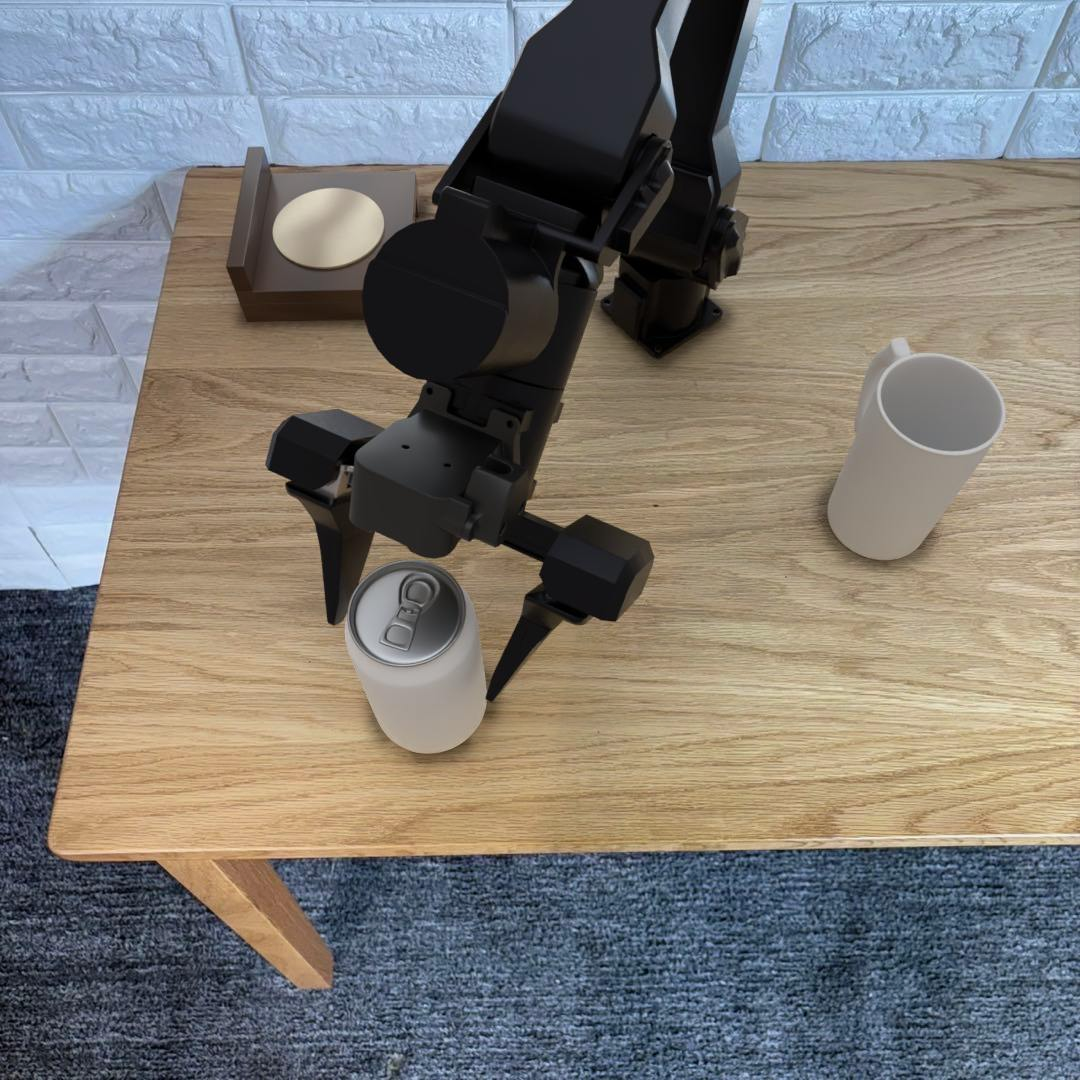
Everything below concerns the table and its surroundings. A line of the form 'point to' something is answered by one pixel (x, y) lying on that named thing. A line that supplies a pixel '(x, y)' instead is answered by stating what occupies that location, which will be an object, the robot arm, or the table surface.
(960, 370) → the mug
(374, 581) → the can
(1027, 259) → the table surface
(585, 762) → the table surface
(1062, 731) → the table surface
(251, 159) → the coaster holder tray
